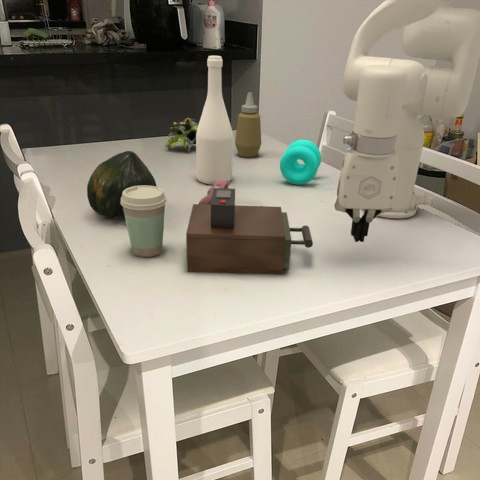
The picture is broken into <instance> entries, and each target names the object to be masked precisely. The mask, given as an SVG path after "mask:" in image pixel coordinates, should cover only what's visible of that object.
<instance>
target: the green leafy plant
mask: <svg viewBox="0 0 480 480" xmlns="http://www.w3.org/2000/svg"><path fill="white" fill-rule="evenodd" d="M198 125H199V122H196V120H195V118H193V119H192V118H190V117H187V118H182V121H180V122H175V121H174V122H173V126H174V127H170V130H171V131H170V132H169V134H168V138H169V139H168V140H167V141H166V144H165V148H167V149H168V150H170V149H171V148H172V147H174V146H175V145H177V144H179V143H181V144H182V146H183V147H184V148H185V149H187V148H188V150H187V153H189V152H190V150H191V147H192V146H193V145H196V133H197V129H198ZM187 146H188V147H187Z"/></svg>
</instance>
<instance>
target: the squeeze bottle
mask: <svg viewBox="0 0 480 480" xmlns="http://www.w3.org/2000/svg"><path fill="white" fill-rule="evenodd" d="M261 127H262V126H261V115H260V114H259V113H258V105H256V104H255V102H254V96H253V92H251V91H250V92H247V95H246V100H245V104H242V105H241V112H240V113H239V114H238V115H237V121H236V129H235V130H236V131H235V138H234V144H235V147H236V151H237V154H238V156H240V157H243V158H254V157H257V156H258V155H259V152H260V149H261V147H262V129H261Z"/></svg>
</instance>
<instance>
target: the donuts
mask: <svg viewBox="0 0 480 480" xmlns="http://www.w3.org/2000/svg"><path fill="white" fill-rule="evenodd" d="M299 160H300V161H302V162H303V164H301V163H300V162H299ZM279 161H280V162H279V168H280V173H281V175H282V177H283V178H284V179H285V180H286V181H287V182H288V183H289V184H293V185H297V186H301V185H305V184H308V183H309V182H311V181H313V179H314V178H315V177H316V175H317V173H318V170H319V167H320V165H321V161H322V154H321V151H320V148H319V147H318V146H317V145H316V143H314V142H312V141H311V140H309V139H298V140H295V141H292V142H291V143H290V144H289V146H288V147H287V148H286V149H285V151H284V152H283V154H282V156H281V158H280V160H279Z"/></svg>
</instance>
